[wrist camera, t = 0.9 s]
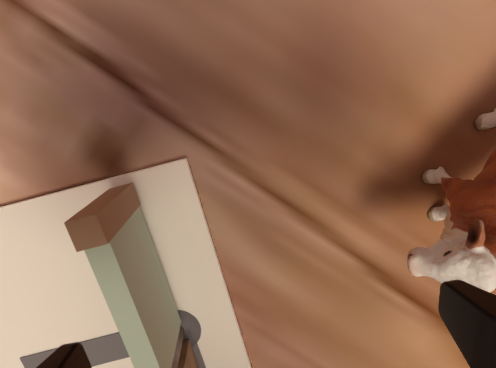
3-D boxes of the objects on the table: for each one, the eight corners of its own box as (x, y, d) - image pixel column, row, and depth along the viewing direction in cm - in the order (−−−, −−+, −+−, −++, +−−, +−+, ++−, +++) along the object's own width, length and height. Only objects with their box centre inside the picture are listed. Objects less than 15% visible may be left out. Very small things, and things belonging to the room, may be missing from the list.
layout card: (272, 432, 25) (272, 438, 25) (21, 494, 25) (17, 502, 25) (186, 157, 20) (185, 159, 19) (-134, 241, 20) (-143, 245, 19)
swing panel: (182, 321, 22) (167, 392, 16) (162, 326, 22) (140, 399, 16) (132, 182, 19) (95, 214, 14) (109, 188, 19) (63, 222, 14)
